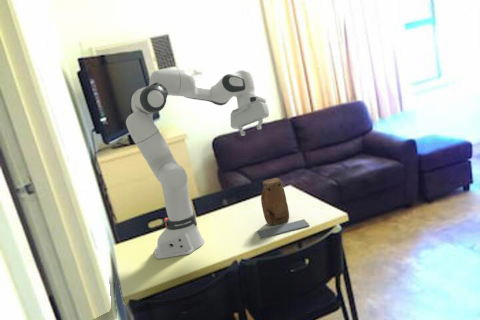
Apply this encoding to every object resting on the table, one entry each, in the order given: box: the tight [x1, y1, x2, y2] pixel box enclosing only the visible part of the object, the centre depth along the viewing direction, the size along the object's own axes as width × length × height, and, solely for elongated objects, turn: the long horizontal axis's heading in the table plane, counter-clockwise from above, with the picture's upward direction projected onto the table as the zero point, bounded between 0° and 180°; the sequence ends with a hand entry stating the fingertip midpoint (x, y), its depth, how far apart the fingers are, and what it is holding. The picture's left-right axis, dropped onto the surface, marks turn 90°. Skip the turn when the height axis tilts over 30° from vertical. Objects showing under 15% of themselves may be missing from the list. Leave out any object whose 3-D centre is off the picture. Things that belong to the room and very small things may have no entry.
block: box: [260, 177, 290, 226], centre depth 190 cm, size 11×8×20 cm
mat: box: [257, 218, 310, 240], centre depth 183 cm, size 22×8×1 cm, turn 99°
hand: (251, 132), depth 191 cm, fingers open, 8 cm apart
